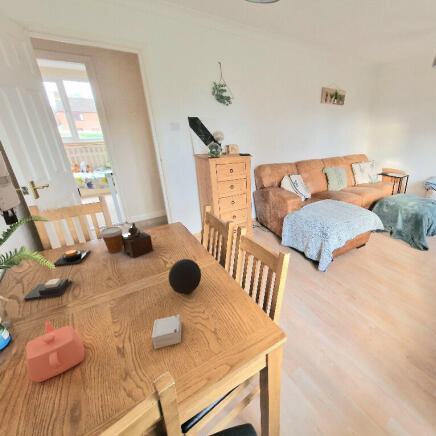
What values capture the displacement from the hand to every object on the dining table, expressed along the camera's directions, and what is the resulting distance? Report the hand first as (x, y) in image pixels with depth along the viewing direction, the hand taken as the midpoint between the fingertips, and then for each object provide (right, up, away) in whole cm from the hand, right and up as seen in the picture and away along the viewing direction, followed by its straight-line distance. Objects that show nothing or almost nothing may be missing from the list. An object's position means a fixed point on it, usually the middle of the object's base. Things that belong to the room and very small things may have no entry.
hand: (13, 224), depth 98 cm
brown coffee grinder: (+35, -16, +28) cm, 48 cm away
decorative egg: (+71, -29, +3) cm, 77 cm away
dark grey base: (+17, -27, -2) cm, 32 cm away
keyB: (+6, -16, +19) cm, 26 cm away
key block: (+6, -18, +20) cm, 28 cm away
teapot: (+47, -40, -28) cm, 68 cm away
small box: (+74, -38, -18) cm, 85 cm away
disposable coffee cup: (+21, -15, +30) cm, 39 cm away
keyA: (+19, -25, -2) cm, 31 cm away
